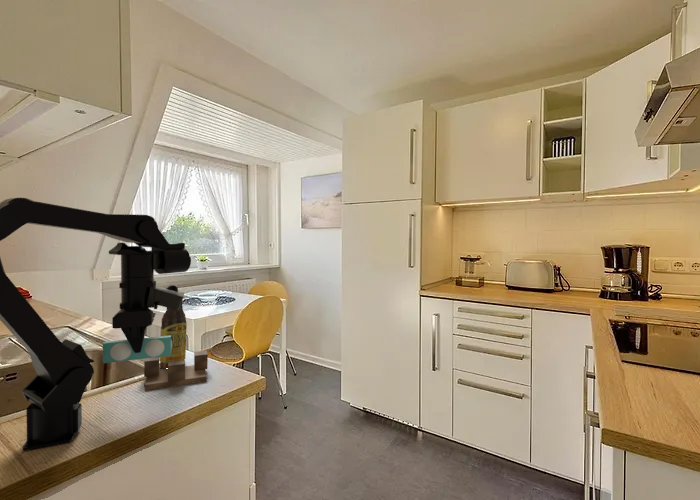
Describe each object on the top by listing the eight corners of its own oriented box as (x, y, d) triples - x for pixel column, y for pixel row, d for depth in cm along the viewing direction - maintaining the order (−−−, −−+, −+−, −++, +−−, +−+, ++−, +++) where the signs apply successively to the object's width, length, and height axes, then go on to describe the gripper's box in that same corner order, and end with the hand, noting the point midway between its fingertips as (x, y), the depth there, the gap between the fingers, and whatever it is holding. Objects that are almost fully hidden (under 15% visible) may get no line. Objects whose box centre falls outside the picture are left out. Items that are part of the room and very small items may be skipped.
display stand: (142, 390, 80) (142, 369, 79) (145, 376, 88) (145, 356, 88) (208, 381, 86) (208, 360, 86) (206, 368, 94) (206, 349, 94)
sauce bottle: (166, 372, 91) (166, 295, 90) (155, 366, 94) (155, 292, 94) (190, 365, 96) (191, 292, 95) (179, 360, 100) (179, 289, 99)
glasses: (102, 363, 70) (102, 343, 70) (110, 351, 77) (110, 333, 77) (170, 355, 75) (170, 337, 75) (171, 345, 82) (171, 328, 82)
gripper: (181, 280, 67) (181, 361, 68) (181, 270, 84) (181, 335, 85) (111, 282, 63) (112, 369, 63) (126, 271, 79) (127, 340, 80)
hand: (138, 351), depth 73 cm, fingers closed on glasses
